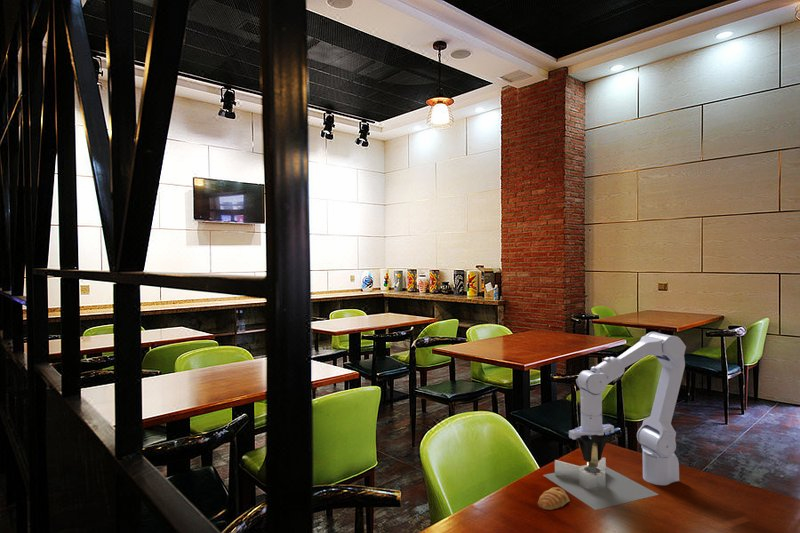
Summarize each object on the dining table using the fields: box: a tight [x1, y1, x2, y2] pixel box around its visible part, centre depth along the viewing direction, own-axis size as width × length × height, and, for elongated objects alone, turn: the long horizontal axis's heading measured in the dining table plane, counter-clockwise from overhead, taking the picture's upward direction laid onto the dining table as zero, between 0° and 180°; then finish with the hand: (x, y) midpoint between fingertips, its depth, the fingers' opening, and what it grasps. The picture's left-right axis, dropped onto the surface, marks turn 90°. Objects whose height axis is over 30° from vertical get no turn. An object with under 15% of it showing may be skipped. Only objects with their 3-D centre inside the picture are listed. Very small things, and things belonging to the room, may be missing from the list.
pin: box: [586, 443, 599, 467], centre depth 137 cm, size 3×3×6 cm
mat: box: [542, 466, 659, 511], centre depth 138 cm, size 22×22×1 cm
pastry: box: [537, 486, 570, 511], centre depth 128 cm, size 9×7×4 cm
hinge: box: [554, 457, 607, 492], centre depth 141 cm, size 16×13×4 cm
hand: (592, 460), depth 137 cm, fingers closed on pin, 3 cm apart
